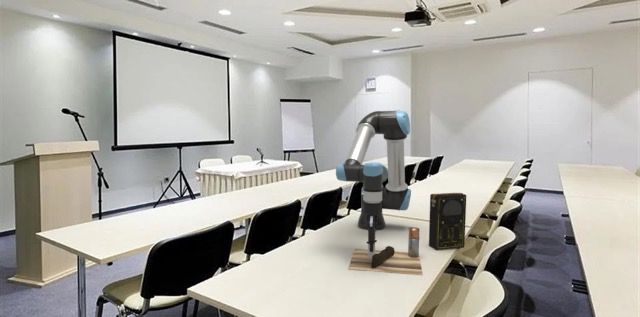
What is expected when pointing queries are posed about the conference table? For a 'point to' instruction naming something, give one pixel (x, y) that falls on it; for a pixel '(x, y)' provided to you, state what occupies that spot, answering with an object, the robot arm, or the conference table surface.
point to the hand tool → (382, 256)
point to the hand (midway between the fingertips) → (371, 258)
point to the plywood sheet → (386, 263)
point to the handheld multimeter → (447, 220)
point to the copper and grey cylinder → (413, 242)
